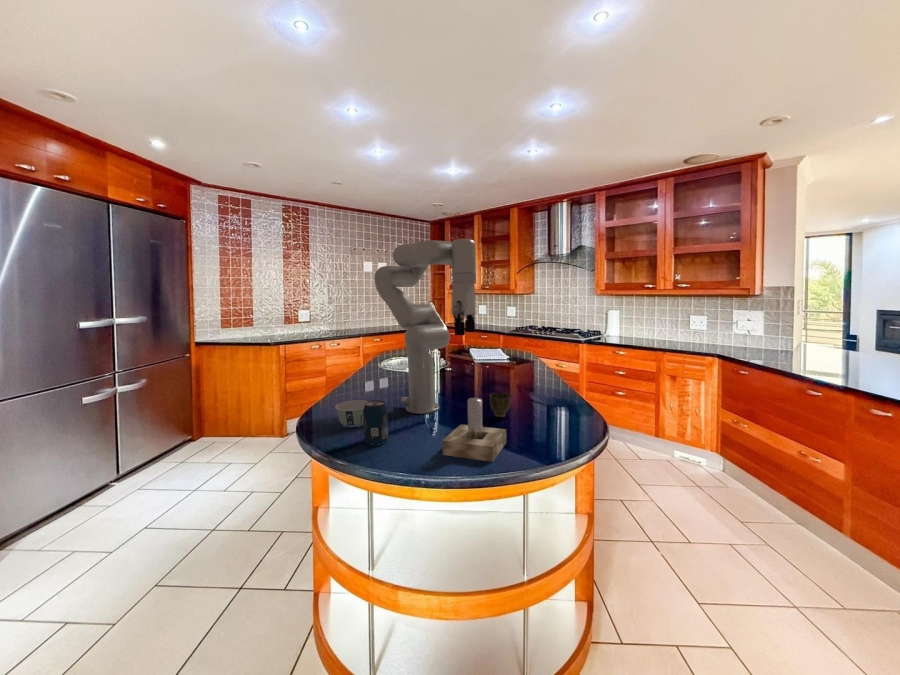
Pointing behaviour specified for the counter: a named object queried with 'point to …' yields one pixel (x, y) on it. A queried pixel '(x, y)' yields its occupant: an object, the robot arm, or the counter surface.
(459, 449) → the square wooden frame
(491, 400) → the brown bumpy hollow part
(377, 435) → the soda can
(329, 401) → the counter surface
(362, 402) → the food container
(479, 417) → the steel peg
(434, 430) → the counter surface
